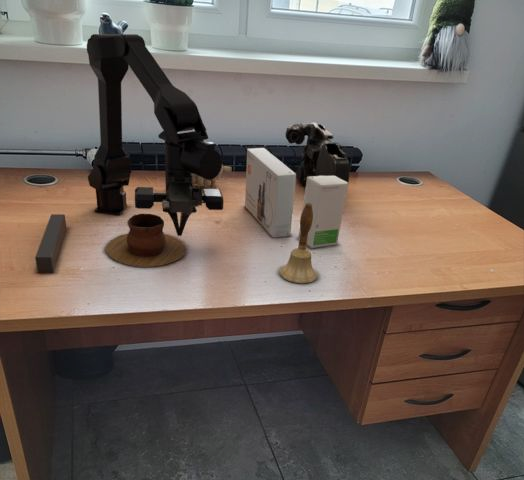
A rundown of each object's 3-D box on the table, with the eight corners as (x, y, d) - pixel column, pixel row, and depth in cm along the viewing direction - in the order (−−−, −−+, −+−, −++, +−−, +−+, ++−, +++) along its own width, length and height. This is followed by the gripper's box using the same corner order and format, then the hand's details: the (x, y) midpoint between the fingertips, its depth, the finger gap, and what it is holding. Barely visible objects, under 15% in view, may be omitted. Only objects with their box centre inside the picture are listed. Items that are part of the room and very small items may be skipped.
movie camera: (274, 171, 168) (283, 115, 157) (325, 175, 172) (337, 120, 162) (299, 211, 145) (311, 148, 134) (357, 214, 149) (374, 154, 138)
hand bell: (277, 265, 116) (285, 196, 107) (313, 266, 117) (324, 198, 108) (281, 283, 110) (290, 211, 100) (319, 284, 111) (332, 213, 101)
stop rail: (38, 272, 104) (35, 257, 102) (53, 228, 121) (51, 214, 119) (53, 272, 105) (50, 257, 103) (66, 228, 122) (64, 214, 120)
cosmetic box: (310, 249, 125) (320, 185, 115) (296, 238, 129) (305, 176, 120) (338, 244, 128) (350, 182, 119) (324, 234, 133) (334, 173, 123)
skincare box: (242, 206, 143) (246, 147, 134) (260, 205, 145) (265, 147, 135) (271, 238, 128) (277, 174, 118) (291, 236, 130) (299, 173, 120)
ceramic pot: (202, 253, 118) (202, 224, 114) (137, 275, 107) (135, 244, 103) (153, 226, 127) (152, 199, 123) (90, 245, 116) (86, 215, 112)
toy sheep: (173, 180, 155) (172, 142, 148) (228, 182, 158) (230, 145, 151) (173, 193, 147) (173, 153, 140) (232, 194, 150) (234, 155, 143)
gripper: (132, 177, 99) (136, 251, 108) (228, 180, 103) (224, 251, 112) (133, 159, 108) (137, 229, 117) (221, 162, 111) (218, 230, 121)
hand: (179, 235), depth 116 cm, fingers closed
